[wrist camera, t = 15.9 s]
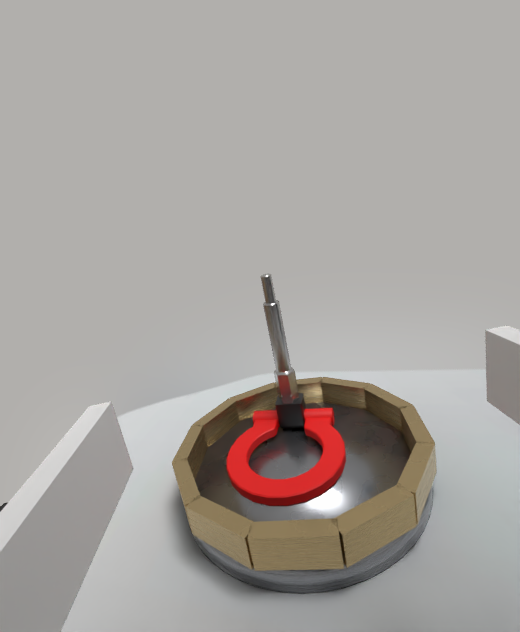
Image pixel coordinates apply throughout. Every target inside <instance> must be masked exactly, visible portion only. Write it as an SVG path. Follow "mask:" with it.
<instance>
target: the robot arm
mask: <svg viewBox="0 0 520 632" xmlns="http://www.w3.org/2000/svg"><path fill="white" fill-rule="evenodd" d="M485 331H486V332H485V333H486V380H487V401H488V402H489V403H491V404H492V405H493V406H495V407H496V408H497V409H499V410H500V411H502V412H503V413H504V414H506V415H507V416H508V417H510V418H511V419H513V420H514V421H515V422H517V423H518V424H519V425H520V330H517V329H515V328H512V327H510V326H503V327H497V328H492V329H487V330H485ZM132 471H133V466H132V463H131V460H130V457H129V453H128V450H127V447H126V444H125V441H124V438H123V435H122V432H121V429H120V426H119V423H118V420H117V417H116V414H115V411H114V408H113V405H112V402H107V403H102V404H96V405H91V406H89V407H88V408H87V410H86V411H85V412H84V413H83V414H82V416H81V417H80V418H79V419H78V420H77V422H76V423H75V424H74V425H73V427H71V429H70V430H69V431H68V432H67V433H66V435H65V436H64V437H63V438H62V439H61V441H60V442H59V443H58V444H57V445H56V447H55V448H54V449H53V450H52V451H51V452H50V454H49V455H48V456H47V457H46V458H45V460H44V461H43V462H42V463H41V464H40V466H39V467H38V468H37V469H36V470H35V471H34V473H33V474H32V475H31V476H30V477H29V479H28V480H27V481H26V482H25V483H24V485H23V486H22V487H21V488H20V489H19V491H18V492H17V493H16V494H15V495H14V496H13V498H12V499H11V500H10V501H9V502H8V503H4V504H3V505H2V506H0V632H61V629H62V627H63V625H64V623H65V620H66V618H67V616H68V614H69V612H70V609H71V607H72V605H73V603H74V600H75V598H76V596H77V594H78V591H79V589H80V587H81V585H82V582H83V580H84V578H85V576H86V574H87V571H88V569H89V567H90V565H91V562H92V560H93V558H94V556H95V553H96V551H97V549H98V547H99V544H100V542H101V540H102V538H103V536H104V533H105V531H106V529H107V527H108V524H109V522H110V520H111V518H112V515H113V513H114V511H115V509H116V506H117V504H118V502H119V500H120V498H121V495H122V493H123V491H124V489H125V486H126V484H127V482H128V480H129V477H130V475H131V473H132Z"/></svg>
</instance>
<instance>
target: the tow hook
mask: <svg viewBox="0 0 520 632" xmlns="http://www.w3.org/2000/svg"><path fill="white" fill-rule="evenodd" d="M261 281H262V286H263V291H264V296H265V301H266V302H265V303H264V304H263V305H264V311H265V316H266V321H267V326H268V331H269V336H270V341H271V346H272V351H273V356H274V361H275V366H276V370H275V371H274V375H275V380H276V385H277V390H278V397H277V400H276V403H275V406H276V410H265V411H254V413H253V427H252V428H250V429H248V430H247V431H246V432H244V433H243V434H242V435H241V436H240V437H239V438H237V440H236V441H235V442H234V444H233V445H232V446H231V448H230V450H229V453H228V456H227V472H228V476H229V478H230V481H231V483H232V486H233V487H234V488H235V489H236V490H237V491H238V492H239V493H240V495H242V496H244V497H245V498H247V499H249V500H251V501H253V502H256V503H260V504H265V505H269V506H288V505H292V504H297V503H301V502H306V501H308V500H310V499H312V498H314V497H316V496H318V495H321V494H322V493H324V492H325V491H326V490H327V489H329V488H330V487H331V486H332V485H334V484H335V482H336V481H337V480H338V478H339V477H340V475H341V474H342V473H343V469H344V466H345V463H346V452H345V444H344V441H343V439H342V437H341V435H340V433H339V432H338V431H337V430H336V429H335V428H334V427H333V426H334V423H335V420H334V411H333V408H314V409H306V407H305V401H304V395H303V393H298V387H297V382H296V376H295V371H294V369H293V368H292V367H291V365H290V359H289V354H288V349H287V343H286V337H285V332H284V327H283V321H282V316H281V310H280V305H279V301H278V300H276V299H275V293H274V288H273V283H272V277H271V274H265V275H262V276H261ZM279 427H281V428H282V429H287V428H304V430H305V434H306V435H307V436H309V437H311V438H313V439H315V440H316V441H317V442H318V443H319V444H320V445H321V446H322V448H323V453H322V456H321V458H320V460H319V461H318V462H317V464H316V465H315V466H314V467H313V468H311V469H310V470H309V471H307V472H306V473H303V474H301V475H299V476H297V477H292V478H288V479H270V478H265V477H262V476H260V475H258V474H256V473H255V472H254V471H253V470H252V469H251V468H250V466H249V459H250V456H251V454H252V452H253V451H254V449H255V448H256V447H257V446H259V445H260V444H261V443H262V442H264V441H266V440H267V439H269V438H272V437H274V436H275V435H276V434H277V431H278V428H279Z"/></svg>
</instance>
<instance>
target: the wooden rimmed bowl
mask: <svg viewBox="0 0 520 632" xmlns="http://www.w3.org/2000/svg"><path fill="white" fill-rule="evenodd" d="M296 382H297V387H298V393H303V395H304V401H305V407H306V409H314V408H333V411H334V420H335V423H334V426H333V427H334V428H335V429H336V430H337V431H338V432H339V433H340V435H341V437H342V439H343V441H344V444H345V452H346V463H345V466H344V469H343V473H342V474H341V475H340V477H339V478H338V480H337V481H336V482H335V484H334V485H332V486H331V487H330V488H329V489H327V490H326V491H325V492H324V493H322V494H321V495H318V496H316V497H314V498H312V499H310V500H308V501H306V502H301V503H297V504H292V505H288V506H269V505H265V504H260V503H256V502H253V501H251V500H249V499H247V498H245V497H244V496H242V495H240V493H239V492H238V491H237V490H236V489H235V488H234V487H233V486H232V483H231V481H230V478H229V476H228V472H227V456H228V453H229V450H230V448H231V446H232V445H233V444H234V442H235V441H236V440H237V438H239V437H240V436H241V435H242V434H243V433H244V432H246V431H247V430H248V429H250V428H252V427H253V413H254V411H265V410H276V406H275V403H276V400H277V397H278V390H277V385H276V382H275V383H274V382H273V383H271V384H268V385H265V386H262V387H259V388H256V389H254V390H251V391H248V392H245V393H242V394H239V395H237V396H234V397H231V398H230V399H227V400H226V401H224V402H223V403H222V404H220V405H219V406H218V407H216V408H215V409H213V410H212V411H211V412H209V413H208V414H206V415H205V416H204V417H202V418H201V419H200V420H198V421H197V422H195V423H194V424H193V425H192V426H191V428H190V430H189V431H188V433H187V435H186V437H185V439H184V441H183V443H182V444H181V446H180V448H179V450H178V452H177V454H176V456H175V458H174V459H173V461H172V465H173V469H174V473H175V476H176V480H177V483H178V487H179V490H180V494H181V497H182V501H183V504H184V508H185V511H186V515H187V518H188V522H189V526H190V529H191V532H192V534H193V536H194V539H195V541H196V542H197V544H198V545H199V547H200V549H201V550H202V552H203V553H204V554H205V555H206V556H207V557H208V558H209V559H210V560H211V561H212V562H213V563H214V564H215V565H216V566H218V567H219V568H220V569H222V570H223V571H224V572H226V573H227V574H229V575H231V576H233V577H235V578H237V579H239V580H241V581H243V582H245V583H248V584H251V585H254V586H257V587H260V588H264V589H269V590H274V591H279V592H292V593H311V592H324V591H329V590H334V589H339V588H344V587H348V586H350V585H353V584H356V583H359V582H362V581H364V580H367V579H369V578H371V577H373V576H375V575H377V574H379V573H380V572H382V571H384V570H386V569H387V568H389V567H390V566H391V565H393V564H394V563H395V562H397V561H398V560H400V559H401V558H402V557H403V556H404V555H405V554H406V553H407V552H408V551H409V550H410V549H411V548H412V547H413V546H414V544H415V543H416V542H417V540H418V539H419V537H420V536H421V534H422V533H423V531H424V529H425V527H426V524H427V522H428V520H429V517H430V513H431V508H432V499H433V488H432V483H433V481H434V478H435V475H436V455H435V442H434V440H433V439H432V437H431V435H430V433H429V432H428V430H427V428H426V427H425V425H424V423H423V421H422V420H421V418H420V416H419V414H418V413H417V411H416V409H415V407H414V406H412V404H410V403H408V402H406V401H404V400H402V399H400V398H398V397H397V396H395V395H393V394H391V393H389V392H387V391H385V390H383V389H381V388H379V387H377V386H375V385H373V384H370V383H363V382H356V381H348V380H341V379H334V378H327V377H323V378H322V377H318V378H308V379H299V380H296ZM322 453H323V448H322V446H321V445H320V444H319V443H318V442H317V441H316V440H315V439H313V438H311V437H309V436H307V435H306V434H305V430H304V428H287V429H282V428H281V427H279V428H278V431H277V434H276V435H275V436H274V437H272V438H269V439H267V440H266V441H264V442H262V443H261V444H260V445H259V446H257V447H256V448H255V449H254V451H253V452H252V454H251V456H250V459H249V466H250V468H251V469H252V470H253V471H254V472H255V473H256V474H258V475H260V476H262V477H265V478H270V479H288V478H292V477H297V476H299V475H301V474H303V473H306V472H307V471H309V470H310V469H311V468H313V467H314V466H315V465H316V464H317V462H318V461H319V460H320V458H321V456H322Z"/></svg>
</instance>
